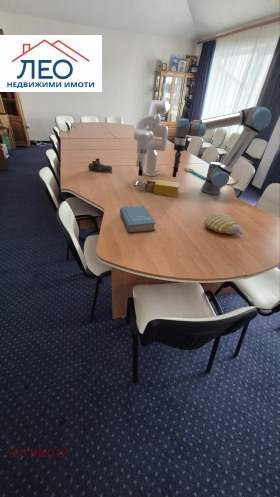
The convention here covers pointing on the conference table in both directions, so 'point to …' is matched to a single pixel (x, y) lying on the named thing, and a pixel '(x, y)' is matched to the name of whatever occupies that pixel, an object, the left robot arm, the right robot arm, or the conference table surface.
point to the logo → (194, 172)
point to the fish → (223, 224)
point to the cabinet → (166, 188)
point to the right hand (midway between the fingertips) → (175, 174)
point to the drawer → (146, 185)
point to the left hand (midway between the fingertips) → (140, 175)
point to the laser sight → (99, 166)
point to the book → (137, 219)
